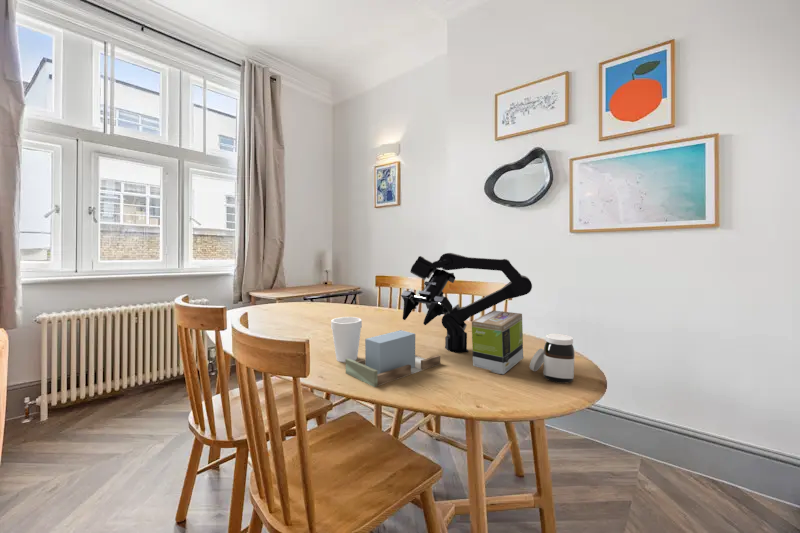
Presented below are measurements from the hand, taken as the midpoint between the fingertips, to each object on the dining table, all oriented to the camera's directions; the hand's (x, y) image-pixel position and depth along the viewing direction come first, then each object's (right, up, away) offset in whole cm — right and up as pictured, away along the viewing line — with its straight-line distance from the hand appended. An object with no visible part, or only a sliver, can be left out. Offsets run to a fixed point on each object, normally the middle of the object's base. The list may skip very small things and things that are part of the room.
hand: (413, 321), depth 115 cm
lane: (-6, -12, -11) cm, 18 cm away
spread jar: (+38, -13, -16) cm, 43 cm away
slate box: (-7, -12, -13) cm, 19 cm away
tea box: (+26, -12, -7) cm, 29 cm away
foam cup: (-21, -12, -3) cm, 25 cm away
